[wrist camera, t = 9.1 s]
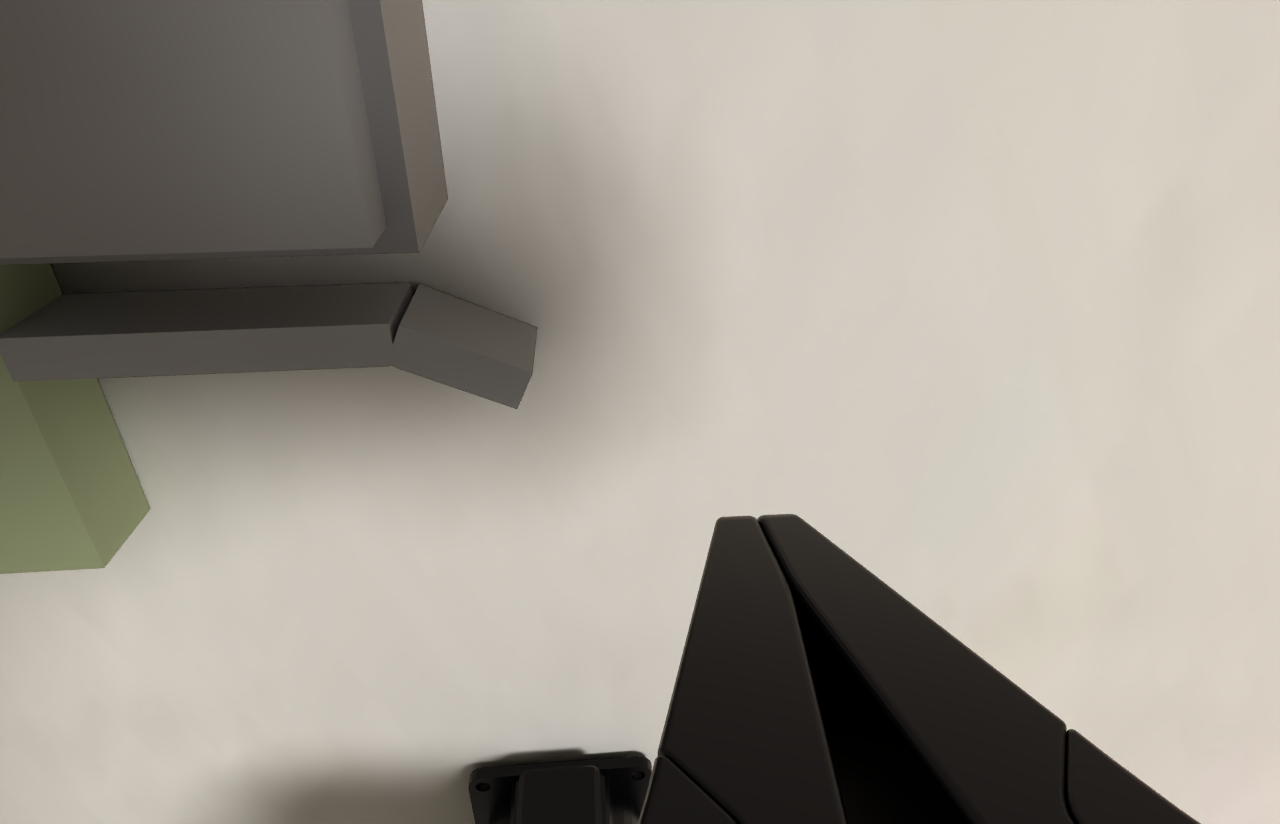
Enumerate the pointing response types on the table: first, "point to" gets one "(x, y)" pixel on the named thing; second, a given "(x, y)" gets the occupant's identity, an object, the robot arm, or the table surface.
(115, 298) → the green block with prongs
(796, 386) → the table surface
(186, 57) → the two tier gray step
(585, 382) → the table surface
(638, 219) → the table surface
